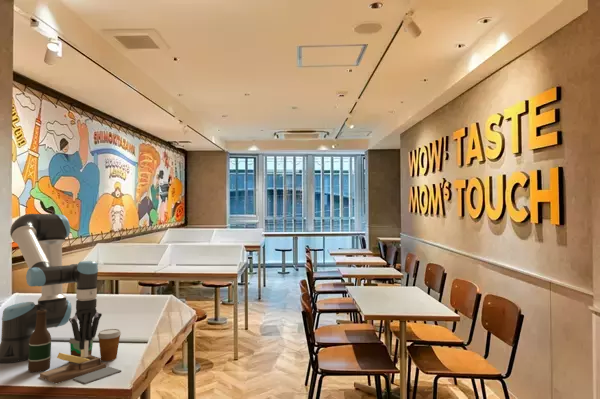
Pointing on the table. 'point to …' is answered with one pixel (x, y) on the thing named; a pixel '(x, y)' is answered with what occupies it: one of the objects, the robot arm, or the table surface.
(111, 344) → the disposable coffee cup
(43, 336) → the beer bottle
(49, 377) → the walnut jig
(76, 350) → the food container
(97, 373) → the charcoal mat
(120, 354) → the table surface
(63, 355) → the mustard bar
